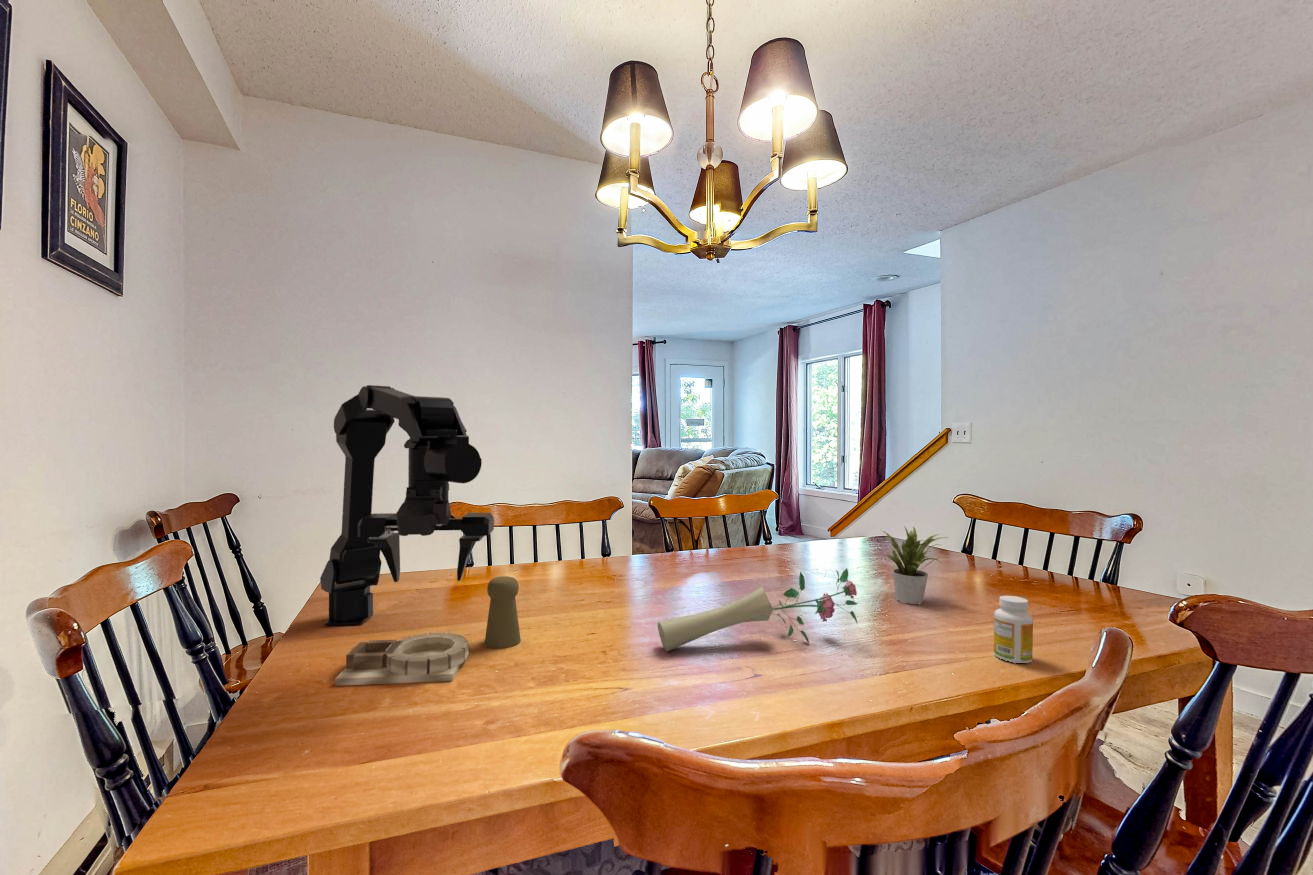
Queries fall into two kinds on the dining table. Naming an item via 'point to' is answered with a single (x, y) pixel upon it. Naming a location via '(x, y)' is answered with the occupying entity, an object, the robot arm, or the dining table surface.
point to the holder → (405, 660)
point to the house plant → (910, 567)
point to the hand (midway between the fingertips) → (428, 580)
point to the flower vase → (746, 614)
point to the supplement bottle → (1013, 630)
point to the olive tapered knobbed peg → (502, 613)
